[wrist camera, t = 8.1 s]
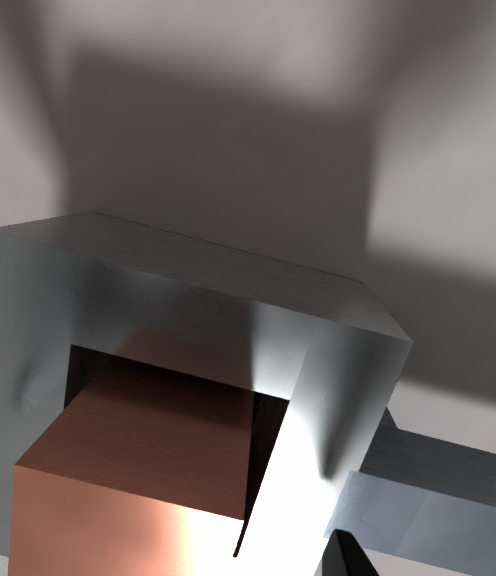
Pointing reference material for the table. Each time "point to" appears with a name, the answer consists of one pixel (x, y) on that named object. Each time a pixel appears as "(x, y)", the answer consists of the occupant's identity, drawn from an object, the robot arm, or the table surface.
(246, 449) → the square peg
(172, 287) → the square frame with handle
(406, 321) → the table surface
